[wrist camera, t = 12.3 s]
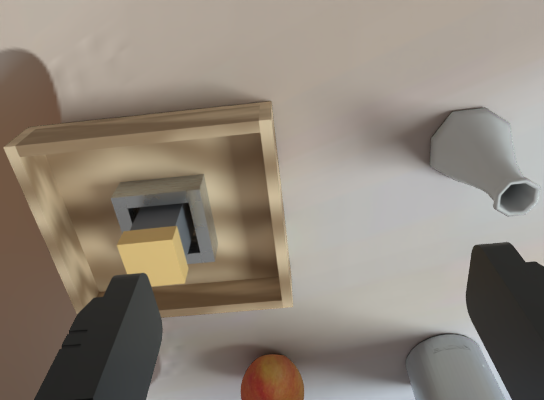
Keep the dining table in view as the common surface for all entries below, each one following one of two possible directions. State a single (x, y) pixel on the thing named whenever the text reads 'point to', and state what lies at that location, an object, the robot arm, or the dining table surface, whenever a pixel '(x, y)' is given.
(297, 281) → the dining table surface
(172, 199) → the frame
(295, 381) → the apple
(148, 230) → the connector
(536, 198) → the flask
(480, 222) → the dining table surface
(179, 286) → the walled box
